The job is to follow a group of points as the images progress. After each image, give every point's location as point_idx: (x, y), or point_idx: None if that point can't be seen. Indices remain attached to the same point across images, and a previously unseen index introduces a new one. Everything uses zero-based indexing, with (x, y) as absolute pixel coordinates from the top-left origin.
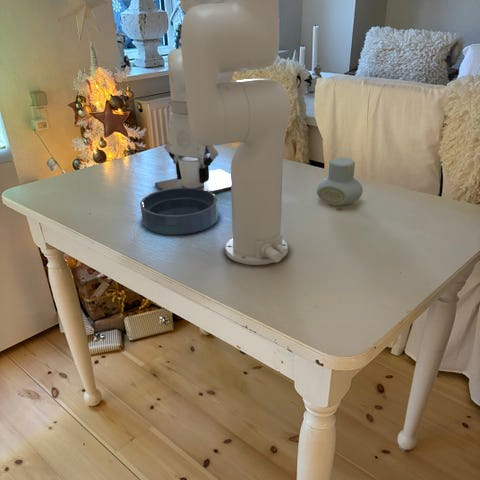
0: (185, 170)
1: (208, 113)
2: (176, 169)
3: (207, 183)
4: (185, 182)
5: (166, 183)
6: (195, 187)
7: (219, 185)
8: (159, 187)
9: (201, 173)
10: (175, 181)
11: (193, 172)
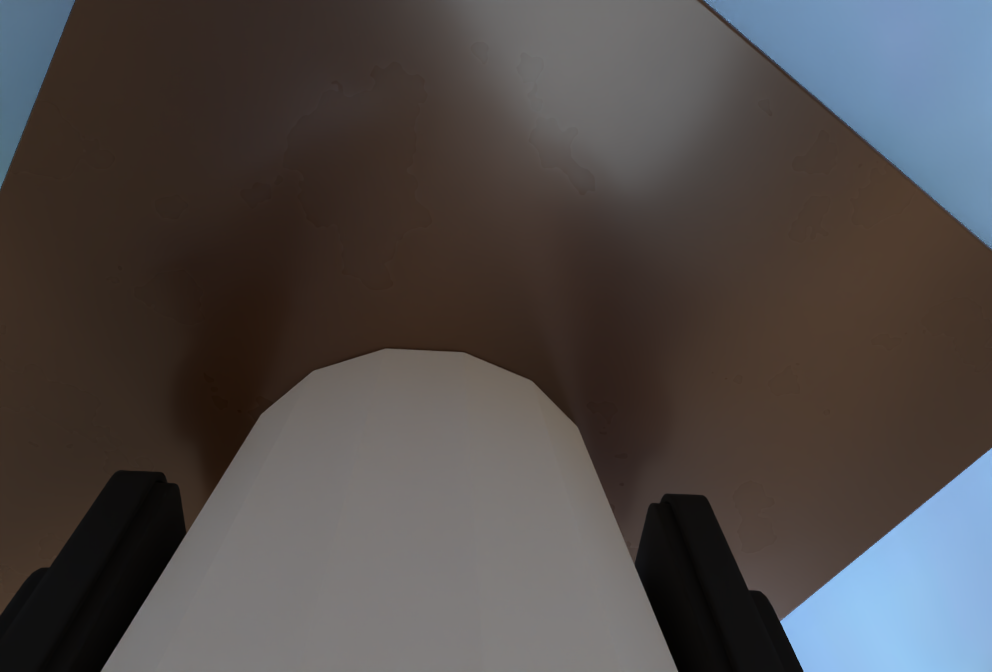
0: (391, 585)
1: None
2: (774, 651)
3: None
4: (456, 397)
5: (884, 389)
6: (286, 394)
7: (12, 590)
8: (968, 233)
9: (9, 635)
10: (762, 507)
11: (178, 596)
